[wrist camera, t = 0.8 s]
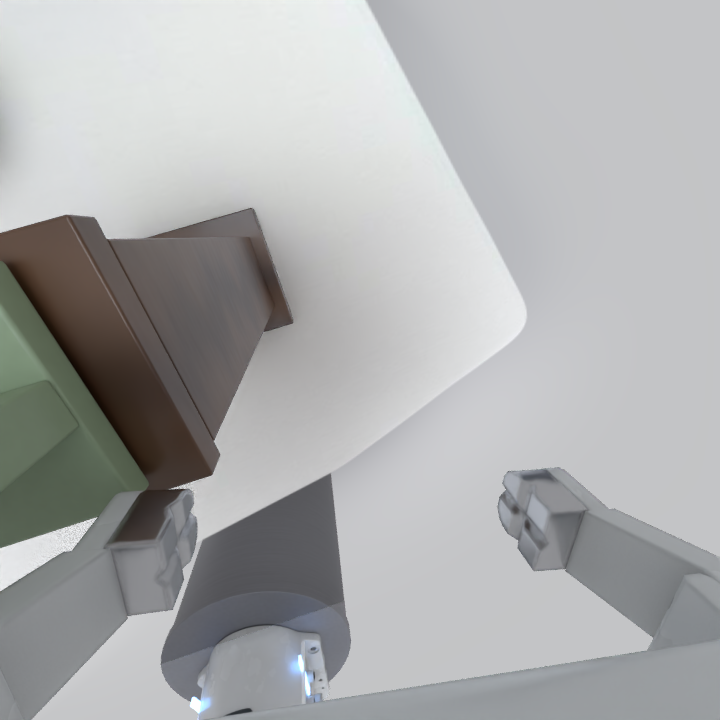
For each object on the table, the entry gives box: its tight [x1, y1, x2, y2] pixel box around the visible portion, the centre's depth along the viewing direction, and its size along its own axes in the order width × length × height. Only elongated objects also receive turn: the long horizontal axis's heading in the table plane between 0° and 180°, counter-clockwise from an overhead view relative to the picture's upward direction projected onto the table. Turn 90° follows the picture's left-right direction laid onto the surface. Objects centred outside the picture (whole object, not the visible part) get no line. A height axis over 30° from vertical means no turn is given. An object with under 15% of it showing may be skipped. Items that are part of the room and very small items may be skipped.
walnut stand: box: [0, 208, 293, 490], centre depth 19 cm, size 10×10×24 cm
